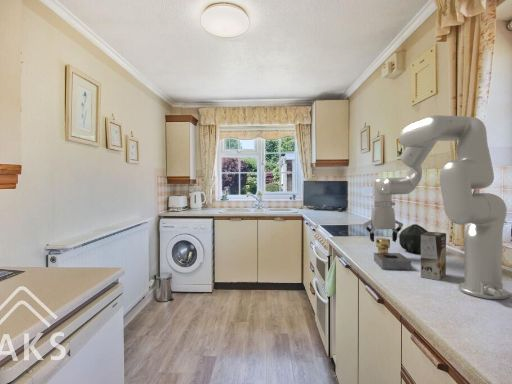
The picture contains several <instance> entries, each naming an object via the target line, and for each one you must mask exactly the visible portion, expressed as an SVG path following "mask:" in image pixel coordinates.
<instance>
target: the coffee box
mask: <svg viewBox="0 0 512 384" xmlns="http://www.w3.org/2000/svg"><path fill="white" fill-rule="evenodd" d="M446 275H447V233H445V232H439V231H438V232H437V231H428V232H426V233H423V234H421V252H420V277H421V278H425V279H430V280H435V281H440V280H441V279H443V278H444V277H445V276H446Z"/></svg>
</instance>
